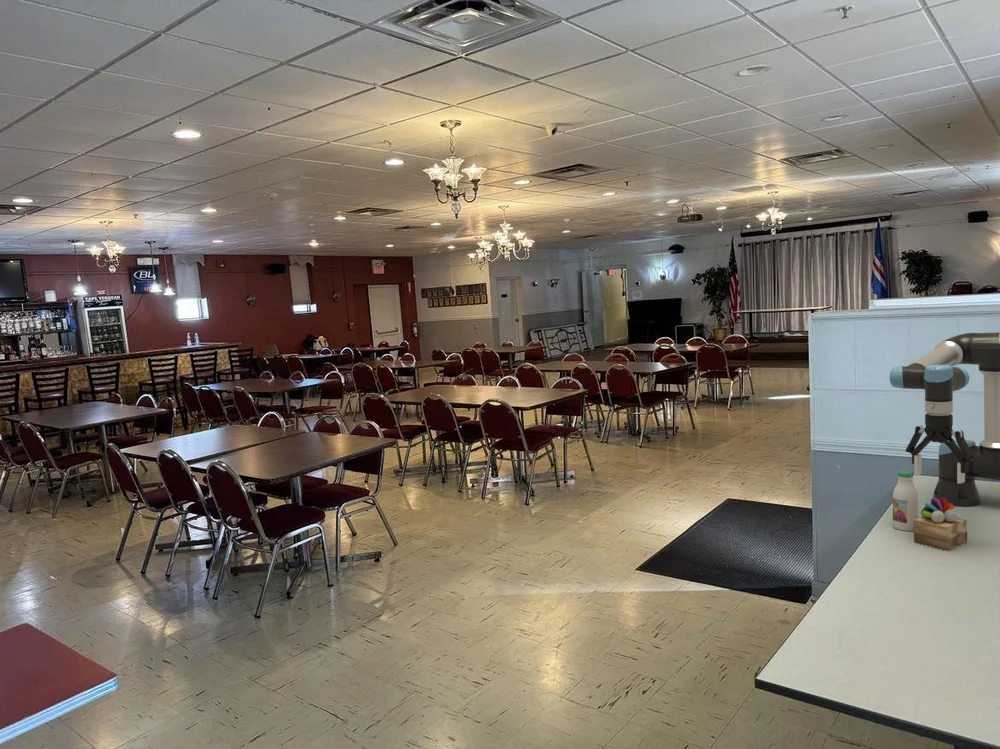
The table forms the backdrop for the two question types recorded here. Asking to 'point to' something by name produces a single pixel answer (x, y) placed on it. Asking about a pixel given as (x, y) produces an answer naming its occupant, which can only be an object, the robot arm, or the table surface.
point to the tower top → (939, 527)
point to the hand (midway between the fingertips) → (938, 478)
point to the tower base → (940, 541)
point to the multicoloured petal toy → (939, 510)
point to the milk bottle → (905, 502)
